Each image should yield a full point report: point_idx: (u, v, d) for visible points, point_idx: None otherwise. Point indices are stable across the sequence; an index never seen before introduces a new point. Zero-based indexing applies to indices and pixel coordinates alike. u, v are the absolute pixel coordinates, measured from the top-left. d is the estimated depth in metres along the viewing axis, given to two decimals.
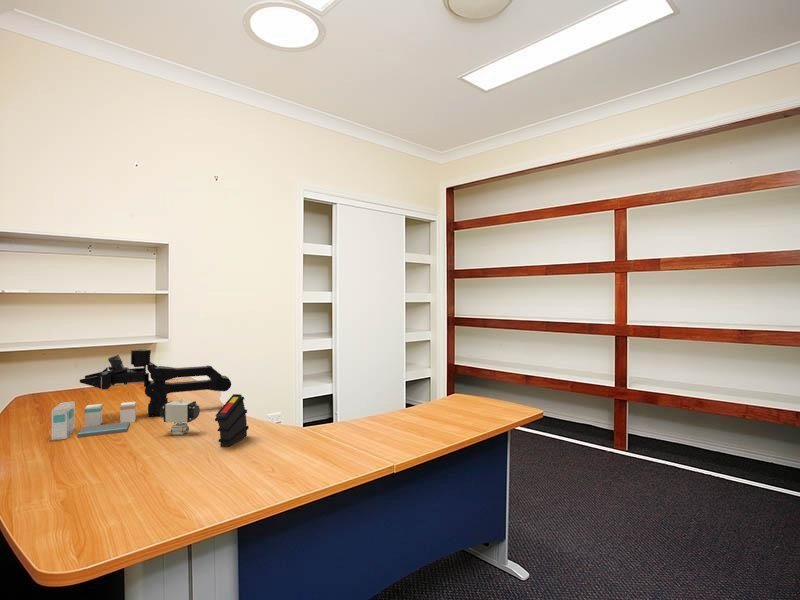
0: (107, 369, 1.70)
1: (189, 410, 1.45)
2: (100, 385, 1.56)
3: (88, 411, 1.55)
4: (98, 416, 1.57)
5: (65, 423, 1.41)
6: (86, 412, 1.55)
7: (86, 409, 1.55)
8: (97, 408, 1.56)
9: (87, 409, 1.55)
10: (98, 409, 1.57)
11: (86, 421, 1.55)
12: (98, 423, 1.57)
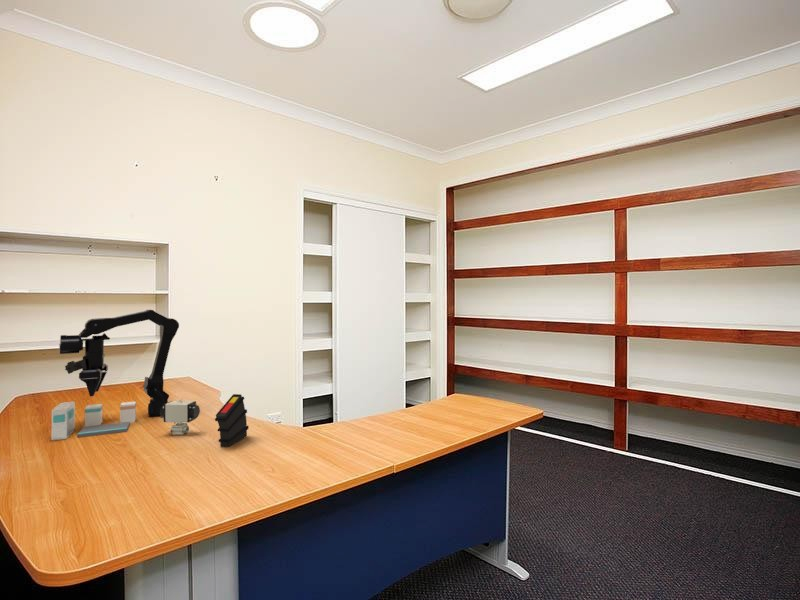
0: None
1: (189, 410, 1.45)
2: (95, 378, 1.52)
3: (88, 411, 1.55)
4: (98, 416, 1.57)
5: (65, 423, 1.41)
6: (86, 412, 1.55)
7: (86, 409, 1.55)
8: (97, 408, 1.56)
9: (87, 409, 1.55)
10: (98, 409, 1.57)
11: (86, 421, 1.55)
12: (98, 423, 1.57)
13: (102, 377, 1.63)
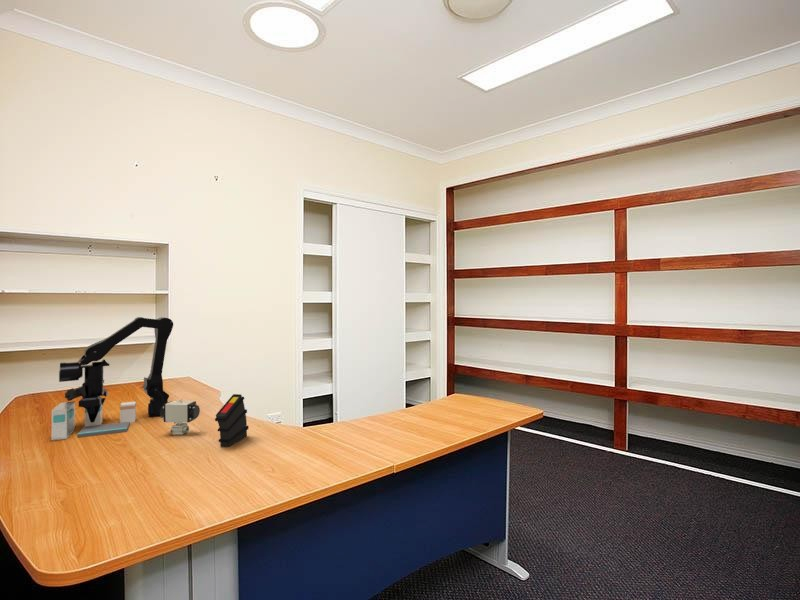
0: None
1: (189, 410, 1.45)
2: None
3: None
4: (98, 416, 1.57)
5: (65, 423, 1.41)
6: (86, 412, 1.55)
7: None
8: None
9: None
10: None
11: (86, 421, 1.55)
12: (98, 423, 1.57)
13: (101, 404, 1.61)
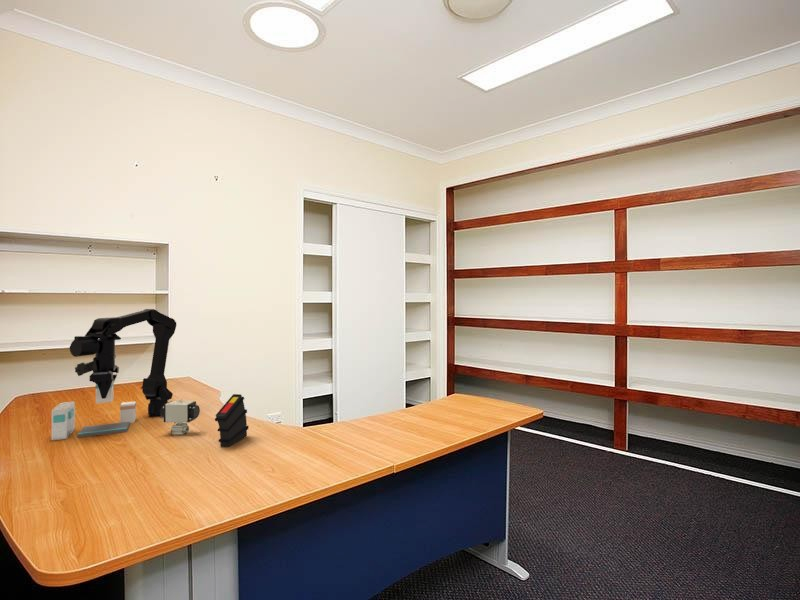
0: None
1: (189, 410, 1.45)
2: (107, 380, 1.46)
3: None
4: (109, 392, 1.49)
5: (65, 423, 1.41)
6: (97, 388, 1.48)
7: (97, 385, 1.48)
8: None
9: None
10: None
11: (97, 397, 1.48)
12: (109, 400, 1.49)
13: None
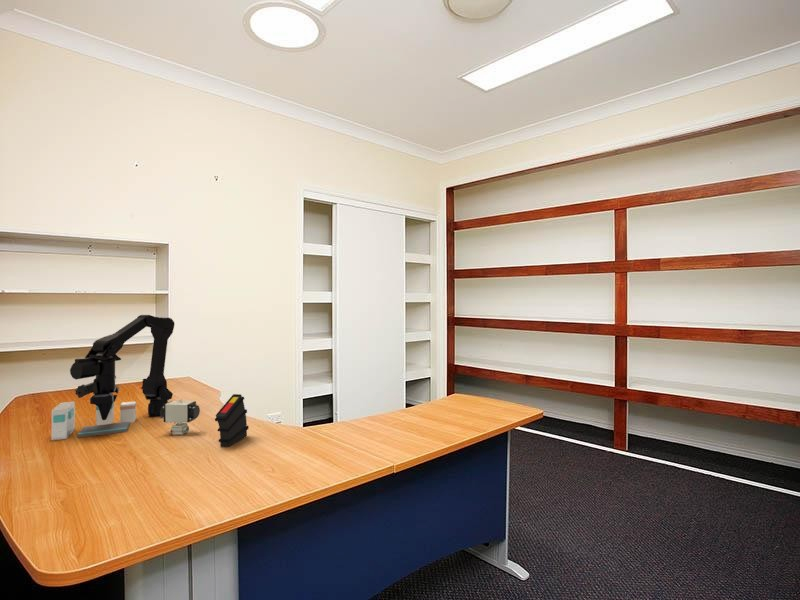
0: None
1: (189, 410, 1.45)
2: None
3: None
4: (110, 414, 1.49)
5: (65, 423, 1.41)
6: (97, 409, 1.48)
7: (97, 406, 1.48)
8: None
9: None
10: None
11: (97, 419, 1.48)
12: (110, 421, 1.49)
13: None
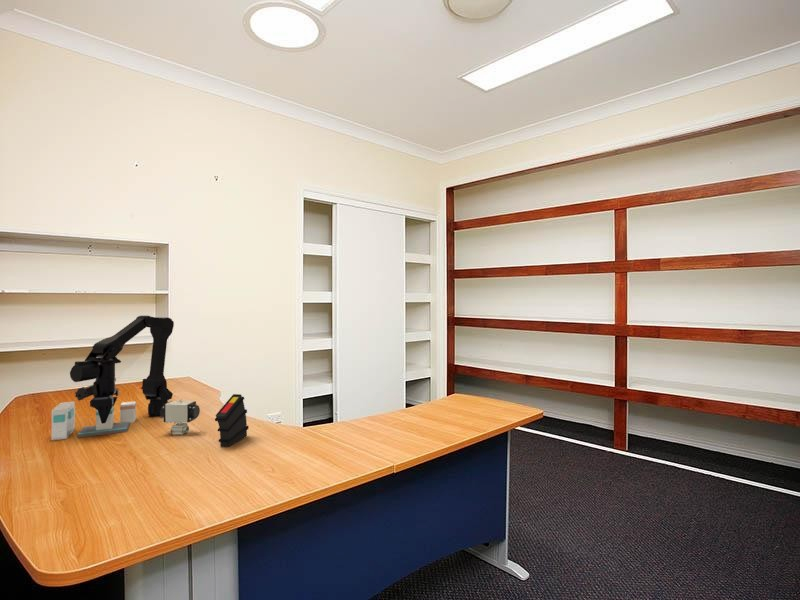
0: None
1: (189, 410, 1.45)
2: (107, 405, 1.45)
3: None
4: (110, 419, 1.49)
5: (65, 423, 1.41)
6: (97, 415, 1.47)
7: (97, 411, 1.47)
8: None
9: None
10: (110, 411, 1.49)
11: (97, 424, 1.48)
12: (110, 426, 1.49)
13: (113, 403, 1.55)
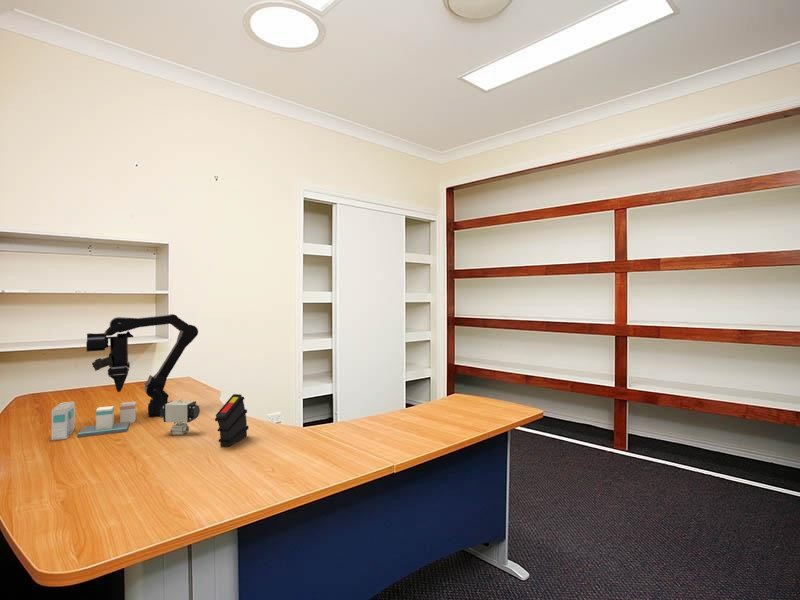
0: None
1: (189, 410, 1.45)
2: (123, 374, 1.58)
3: (99, 414, 1.48)
4: (110, 419, 1.49)
5: (65, 423, 1.41)
6: (97, 415, 1.47)
7: (97, 411, 1.47)
8: (109, 410, 1.49)
9: (98, 411, 1.48)
10: (110, 411, 1.49)
11: (97, 424, 1.48)
12: (110, 426, 1.49)
13: None
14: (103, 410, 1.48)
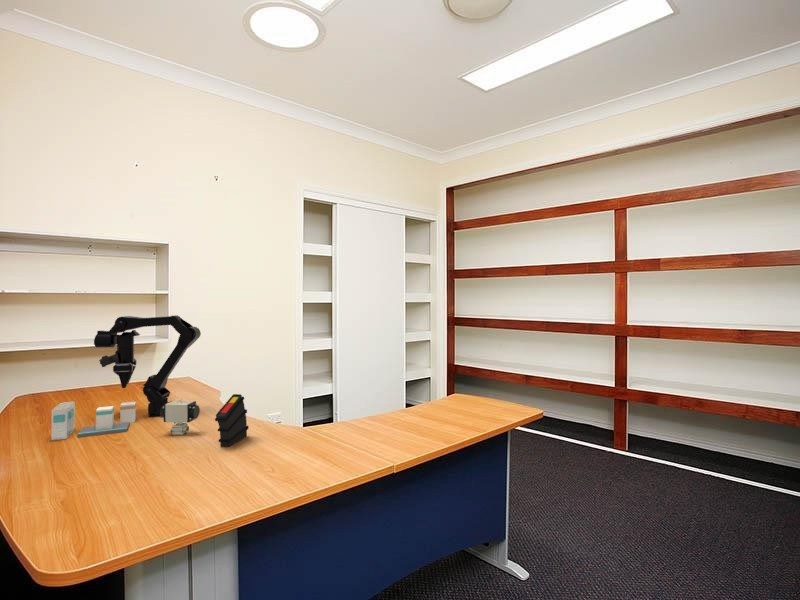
0: None
1: (189, 410, 1.45)
2: (127, 371, 1.64)
3: (99, 414, 1.48)
4: (110, 419, 1.49)
5: (65, 423, 1.41)
6: (97, 415, 1.47)
7: (97, 411, 1.47)
8: (109, 410, 1.49)
9: (98, 411, 1.48)
10: (110, 411, 1.49)
11: (97, 424, 1.48)
12: (110, 426, 1.49)
13: (132, 371, 1.75)
14: (103, 410, 1.48)
